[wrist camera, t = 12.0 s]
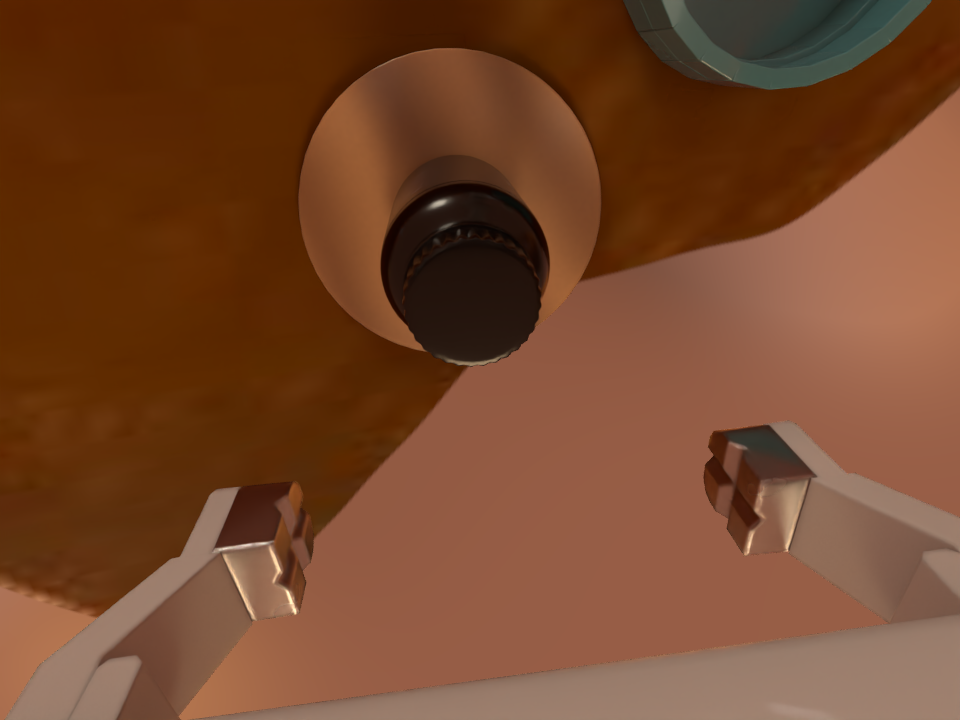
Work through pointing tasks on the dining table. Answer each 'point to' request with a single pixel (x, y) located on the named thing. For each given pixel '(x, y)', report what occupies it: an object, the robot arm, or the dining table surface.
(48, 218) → the dining table surface
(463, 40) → the dining table surface
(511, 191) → the supplement bottle
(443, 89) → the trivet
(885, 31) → the pan
